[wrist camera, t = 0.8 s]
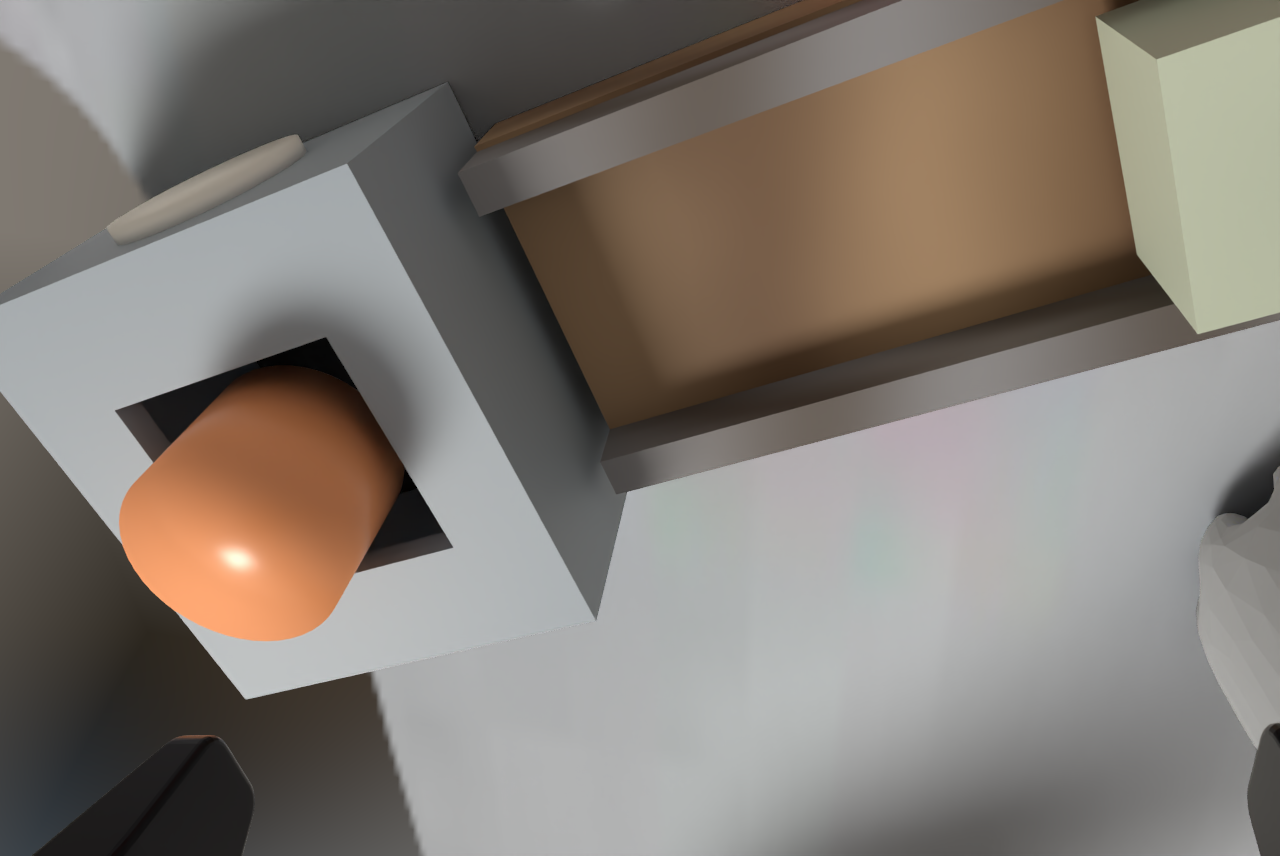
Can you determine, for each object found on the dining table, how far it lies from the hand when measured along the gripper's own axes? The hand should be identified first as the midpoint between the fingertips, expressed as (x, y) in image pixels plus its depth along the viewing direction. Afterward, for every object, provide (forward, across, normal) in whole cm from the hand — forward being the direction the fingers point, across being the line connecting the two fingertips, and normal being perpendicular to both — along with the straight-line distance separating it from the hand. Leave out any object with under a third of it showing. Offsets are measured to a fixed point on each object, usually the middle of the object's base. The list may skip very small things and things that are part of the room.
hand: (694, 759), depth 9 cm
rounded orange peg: (+8, +8, +2) cm, 12 cm away
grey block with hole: (+12, +8, +2) cm, 15 cm away
